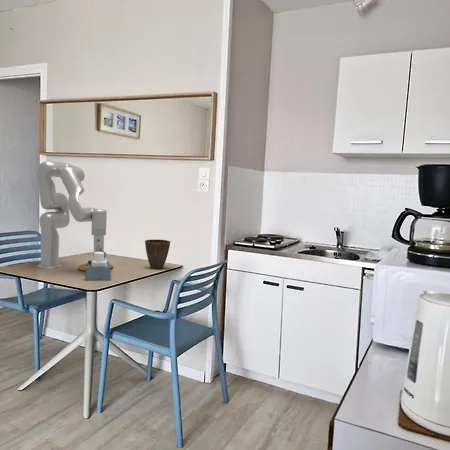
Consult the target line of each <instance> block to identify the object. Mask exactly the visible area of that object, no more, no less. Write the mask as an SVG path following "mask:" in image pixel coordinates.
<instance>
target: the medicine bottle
mask: <svg viewBox="0 0 450 450" xmlns="http://www.w3.org/2000/svg"><path fill="white" fill-rule="evenodd" d="M106 254H107V253H106V252H105V251H95V252H94V251H93V255H92V256H93V260H91V261H92V262H91V266H107V261H108V259H106V257H107V255H106Z"/></svg>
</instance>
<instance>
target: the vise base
mask: <svg viewBox="0 0 450 450" xmlns="http://www.w3.org/2000/svg"><path fill="white" fill-rule="evenodd" d="M111 273H112V267H111V265H110V266H86V265H85V281H111V279H112V278H111V277H112V275H111Z"/></svg>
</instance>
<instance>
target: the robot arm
mask: <svg viewBox="0 0 450 450" xmlns="http://www.w3.org/2000/svg"><path fill="white" fill-rule="evenodd" d="M35 173H36V179H37V184H38V193H39V201H40V205H41V208H42V209H43V210H47V211H48V210H55V211H48V212H47V211H46V212H44V213H42V214H41V215H40V216H39V221H38V222H39V227H40V263H39V264H37V267H38V268H40V269H58V268H59V267H61V266H62V264H60V263H59V262H60V261H59V259H60V256H59V255H60V254H59V253H60V235H59V232H58V230H57V229H62V228H66V227H68V226H69V224H70V221H71V219H70V216H71V215H72V218H73V219H74V220H75V221H77V222H79V223H85V222H86V223H87V222H88V223H89V222H91V233H90V234H91V236H93V253H94V252H95V251H104V248H105V236H106V235H107V218H108V217H107V215H108V213H107V210H106V209H103V208H95V207H82V205H81V204H80V202H79V196H81V195H82V194H83V193H84V192H85V188H84V186H83V184H82V182H83V181H84V180H85V176H86V175H85V172H84V170H83V169H82V168H81V167H78V166H76V165H72V164H70V163H67V162H63V161H61V162H60V161H53V160H52V161H51V160H45V161H43V162H40V163H39V164H38V166H37V168H36V172H35ZM52 178H60V179H61V181H62V184H63V185H64V187H65V189H66V191H67V193H68V196H69V197H68V198H67V196H66V195H65V194H64V193H61V192H57V191H56V190H57V189H56V184H55V182H54V180H53V179H52ZM70 213H71V215H70ZM104 252H105V251H104Z"/></svg>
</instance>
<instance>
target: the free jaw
mask: <svg viewBox="0 0 450 450" xmlns="http://www.w3.org/2000/svg"><path fill="white" fill-rule="evenodd" d="M92 261H93V260H87V262H86V263H85V267H86V266H91V262H92ZM107 266H111V263H110V262H109V260H107Z"/></svg>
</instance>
